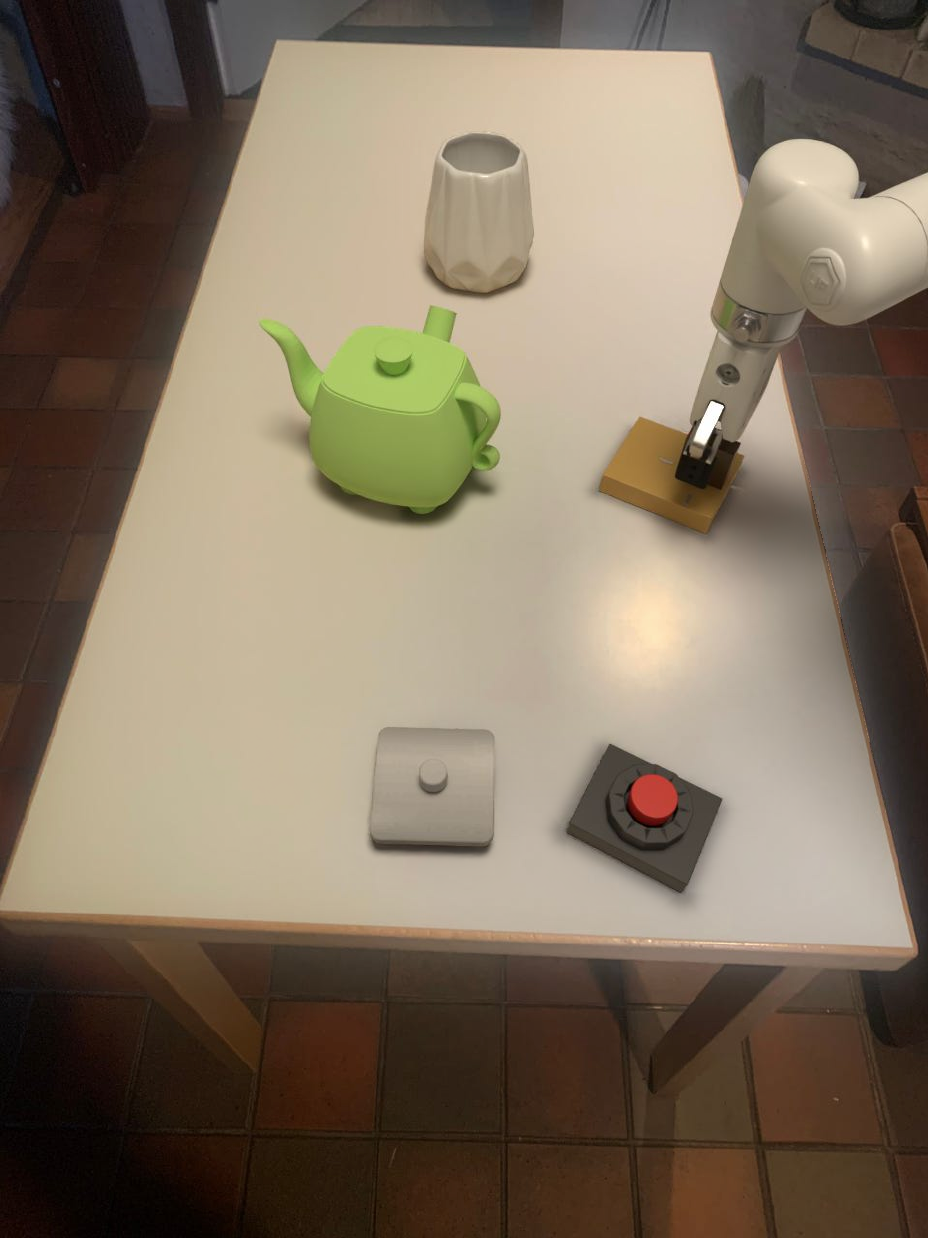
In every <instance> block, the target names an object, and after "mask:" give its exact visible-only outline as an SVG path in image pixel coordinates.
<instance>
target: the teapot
mask: <svg viewBox="0 0 928 1238" xmlns="http://www.w3.org/2000/svg"><path fill="white" fill-rule="evenodd" d="M457 314H458V313H457V312H456V311H453V310H450V309H447V308H443V307H441V306H437V305H429V308H428V311H427V315H426V317H425V322H424V325H423V329H422V332H419V331H416V330H411V329H405V328H399V327H393V326H383V325H367V326H362V327H359V328H357V329H356V330H354V331H353V332H351V334H349V335H348V336H347V338H346V339H345V340H344V341H343V343H342V344H341V346H340V347H339V348H338V349H337V351H336V352H335V354H334V355H333V357H332V358H331V360H330V362H329V363H328V365H327V366H326V369H325V370H324V372H323V371H322V370H321V369H320V368H319V367H318V366H317V365H316V364H315V362H314V361H313V360H312V358H311V356H310V354H309V352H308V351H307V348H306V347H305V345H304V343H303V342H302V341H301V339H300V338H299V336H297V334H296V333H295V332H294V331H293V330H292V329H291V328H289V327H288V326H286V325H285V324H283V323H281V322H280V321H277V320H274V319H270V318H261V319H259V321H258V324H259V326H260V327H261V328H262V330H263V331H264V332H266V333H267V334H268V335H269V336H270V337H271V339H273V340H274V341H275V342H276V343H277V345H278V347H279V348H280V350H281V352H282V354H283V356H284V359H285V362H286V366H287V369H288V373H289V378H290V382H291V386H292V390H293V393H294V396H295V398H296V400H297V402H298V403H299V405H300V407H301V408H302V409H303V411H305V413H306V414H307V415H308V416H309V417H310V421H309V435H308V436H309V450H310V454H311V459H312V460H313V462H314V464H315V466H316V468H317V469H318V470H319V471H320V472H321V473H322V474H323V475H324V476H325V477H326V478H327V479H329V480H330V481H332V482H333V483H335V484H337V485H338V486H340V489H341V490H342V491H343V492H344V493H346V494H348V495H359V496H361V497H363V498H366V499H369V500H372V501H375V502H380V503H383V504H388V505H394V506H402V507H408V508H409V510H411V511H412V512H413V513H415V514H419V515H425V514H430V513H432V512H433V511H435V509H436V508H437V507H439V506H442V505H444V504H445V503H447V502H448V501H449V500H450V499H451V498H452V497H453V496H454V495H455V494H456V492H457V491H458V490H459V488H460V487H461V486H462V484H463V483H464V481H465V480H466V478H467V476H468V475H469V473H470V472H471V470H472V469H473V468H474V469H475V470H477V471H481V472H489V471H492V470H493V469H495V468H496V467H497V466H498V464H499V463H500V459H501V454H500V451H499V449H497V447H495V446H494V445H491V444H488V442H489V441H490V440H491V439H492V437H493V435H494V434H495V433H496V431H497V429H498V427H499V424H500V421H501V418H502V417H501V416H502V410H501V406H500V403H499V401H498V400H497V398H496V397H495V396H494V394H493V393H491V392H490V391H489V390H487V389H486V388H484V387H482V386H481V383H480V381H479V379H478V376H477V374H476V372H475V370H474V368H473V365H472V364H471V362H470V358H469V357H468V356H467V354H466V352H464V350H462V349H461V348H460V347H459V346H457V345H455V344H453V343H451V339H452V334H453V332H454V331H453V330H454V326H455V322H456V317H457Z"/></svg>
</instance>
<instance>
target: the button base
mask: <svg viewBox="0 0 928 1238" xmlns="http://www.w3.org/2000/svg"><path fill="white" fill-rule="evenodd" d="M648 774H655V775H659V776H662V777H664V778H666V779H667V780H668V781H670V782H671V783H672V785H673V786H674V788H675V789H676V792H677V796H678V803H677V806H676V808H675V810H674V812H673V814H672V815H671V817H670V818H669V819H668V820H667V821H666V822H665V823H663V824H661V825H656V826H650V825H646V824H643V823H641V822H639V821H638V820H637V819H636V818H634V816H633V815H632V814H631V812H630V810H629V807H628V795H629V793H630V790H631V788H632V786H633V784H634V782H635V781H636V780H637V779H638V778H640V777H642V776H644V775H648ZM722 802H723V798H722V797H720V796H719V795H716V794H714V793H713V792H710V791H709V790H706V789H704V788H702V787H700V786H698V785H696V784H694V783H692V782H690V781H688V780H686V779H683V778H681V776H680V777H679V775H678V774H677V773H675V772H673V771H672V770H670V769H668V768H666V767H663V766H661V765H659V764H657V763H651V762H649V761H647V760H645V759H643V758H641V757H639V756H636V755H635V754H632V753H630V752H629V751H627V750H624V749H622V748H620V747H618V746H616V745H614V744H613V743H609V744H608V746H607V748H606V749H605V751H604V754H603V756H602V757H601V759H600V762H599V763H598V765H597V767H596V770H595V771H594V773H593V775H592V777H591V779H590V781H589V783H588V784H587V787H586V789H585V791H584V793H583V795H582V796H581V799H580V801H579V803H578V805H577V807H576V809H575V811H574V813H573V814H572V816H571V818H570V821H569V822H568V826H567V829H566V833H568V834H569V835H571V836H572V837H575V838H577V839H579V840H580V841H583V842H584V843H586V844H588V845H589V846H592V847H593V848H596V849H598V850H600V851H601V852H603V853H605V854H607V855H608V856H610V857H612V858H615V859H617V860H618V861H620V862H622V863H624V864H626V865H628V866H630V867H632V868H634V869H636V870H638V871H639V872H641V873H643V874H645V875H647V876H649V877H651V878H652V879H654V880H656V881H658V882H660V883H662V884H664V885H666V886H667V887H670V888H671V889H673V890H675V891H677V892H679V893H682V892H683V891H684V890H685V889H686V887H687V886H688V885H689V883H690V880H691V878H692V875H693V873H694V870H695V868H696V865H697V862H698V860H699V859H700V856H701V853H702V851H703V848H704V845H705V844H706V840H707V838H708V836H709V834H710V831H711V829H712V826H713V823H714V821H715V819H716V817H717V814H718V812H719V810H720V807H721V804H722Z"/></svg>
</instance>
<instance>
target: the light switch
mask: <svg viewBox="0 0 928 1238" xmlns="http://www.w3.org/2000/svg"><path fill="white" fill-rule="evenodd" d="M375 754H376V755H375V765H374V774H373V775H374V776H373V786H372V798H371V808H370V809H371V810H370V819H369V836H370V839H371V841H373V842H375V843H376V844H390V845H392V844H393V845H421V846H424V845H425V846H426V845H427V846H461V847H462V846H463V847H465V846H466V847H468V846H469V847H485V846H486V847H487V846H489V845H490V844H491V843H493V840H494V837H495V736H494V733H493V732H492V731H490V730H489V729H481V728H479V729H478V728H477V729H476V728H444V727H443V728H441V727H439V728H438V727H405V726H403V727H402V726H401V727H400V726H386V727H383V728H382V729H380V731H379V732H378V735H377V744H376V753H375Z"/></svg>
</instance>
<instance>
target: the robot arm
mask: <svg viewBox="0 0 928 1238" xmlns="http://www.w3.org/2000/svg"><path fill="white" fill-rule="evenodd" d="M859 182H860V174H859V169H858V167H857V164H856V163H855V161H854V159H853V158H852V157H851V156H850V155H849V153H847V152H846V151H844V150H843V149H841V148H840V147H838V146H835V145H833V144H831V143H829V142H826V141H821V140H815V139H810V138H794V139H793V138H792V139H787V140H784V141H781V142H778V143H776V144H773V145H772V146H771V147H769V148H768V149H767V150H765V151H764V152H763V153H762V154H761V156H760V157H759V158H758V160H757V162H756V164H755V165H754V169H753V171H752V174H751V177H750V180H749V183H748V187H747V189H746V192H745V197H744V199H743V202H742V205H741V206H742V207H741V210H740V213H739V217H738V220H737V223H736V226H735V229H734V232H733V236H732V238H731V243H730V245H729V249H728V253H727V256H726V259H725V262H724V266H723V269H722V273H721V276H720V279H719V281H718V286H717V289H716V292H715V295H714V299H713V302H712V305H711V308H710V320H711V323H712V325H713V326H714V328H715V330H717V332H716V334H715V337H714V340H713V343H712V346H711V348H710V350H709V355H708V358H707V360H706V363H705V366H704V370H703V373H702V376H701V377H700V381H699V385H698V388H697V392H696V395H695V396H694V397H695V398H694V401H693V404H692V408H691V412H690V415H689V424H690V426H691V428H692V427H694V429H693V431H692V433H691V436H690V438H689V440H688V442H687V445H686V446H685V447H684V449H683V452H682V455H681V458H680V461H679V464H678V467H677V470H676V473H675V478H676V479H678V480H680V481H683V482H685V483H688V484H690V485H693V486H695V487H698V488H700V489H705V488H706V486H707V484H708V482H709V479H710V477H711V474H712V471H713V469H714V466H715V463H716V461H717V458H716V457H715V455H716V453H717V450H718V448H719V446H720V444H721V441H722V439H723V438H724V439H725V440H728V441H730V442H735V441H738V440H740V438H741V437H742V435H743V434H744V432H745V430H746V428H747V426H748V424H749V423H750V421H751V419H752V418H753V415H754V413H755V412H756V409H757V408H758V406H759V405H760V402H761V400H762V398H763V396H764V393H765V392H766V389H767V388H768V384H769V382H770V379H771V376H772V373H773V370H774V369H775V365H776V363H777V360H778V357H779V356H780V352H781V349H782V347H783V346H785V345H787V344H789V343H790V342H792V341H793V340H794V339H795V338H796V337H797V336H798V334H799V332H800V330H801V327H802V324H803V323H804V319H805V318H806V315H807V313H808V310H809V312H810V313H812V315H814V316H815V317H816V318H818V319H819V320H821V321H823V322H824V323H827V324H829V325H833V326H849V325H855V324H858V323H861V322H863V321H866V320H868V319H870V318H872V317H874V316H877V314H880V313H881V312H884V311H886V310H888V309H890V308H891V307H893V306H896V305H898V304H899V303H901V302H903V301H905V300H907V299H908V298H910V297H912V296H915V295H916V294H918V293H919V292H923V291H924V290H926V289H928V172H925V173H923V174H920V175H918V176H916V177H913V178H911V179H908V180H906V181H904V182H902V183H899V184H897V185H896V184H895V186H892V187H890V188H887V189H885V190H883V191H880V192H878V193H876V194H874V195H872V196H869V197H862V198H855V197H856V193H857V191H858V189H859ZM718 422H719V423H720V427H721V429H720V428H717V425H718ZM712 434H713V435H715V436H716V439H715V441H714V443H713V446H712V448H711V450H710V449H708V448H706V447H707V444H708V442H709V439H710V437H711V435H712Z"/></svg>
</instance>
